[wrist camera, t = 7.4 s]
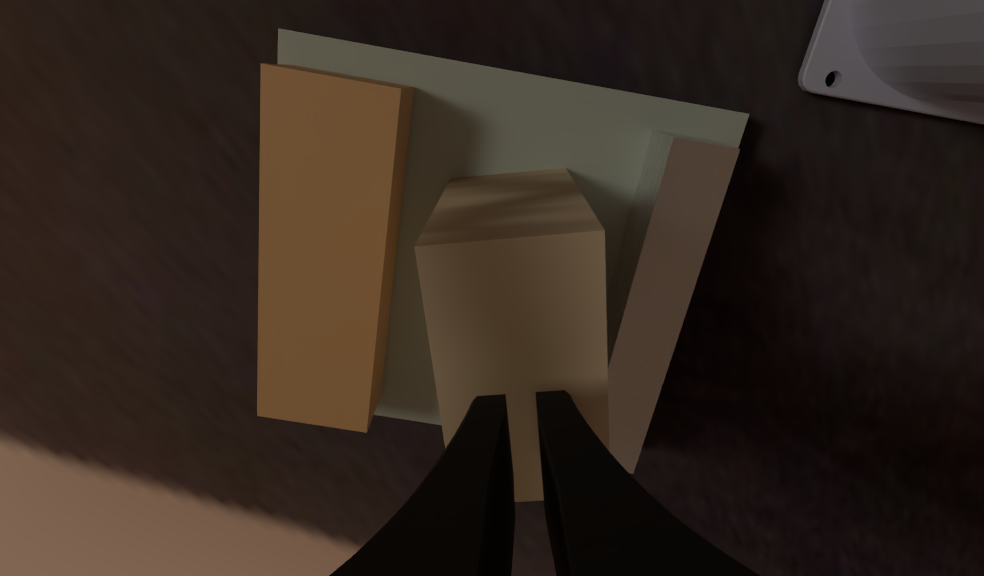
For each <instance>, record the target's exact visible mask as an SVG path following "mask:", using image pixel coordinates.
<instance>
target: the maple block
mask: <svg viewBox="0 0 984 576" xmlns="http://www.w3.org/2000/svg"><path fill="white" fill-rule="evenodd" d="M414 248H415V255H416V261H417V267H418V274H419V280H420V287H421V293H422V300H423V306H424V313H425V319H426V326H427V332H428V339H429V345H430V352H431V358H432V365H433V371H434V378H435V384H436V391H437V397H438V404H439V410H440V417H441V423H442V430H443V436H444V443H445V449H446V447H447V445H448V444H449V442H450V441H451V439H452V438H453V436H454V434H455V433H456V431H457V429H458V428H459V426H460V424H461V422H462V421H463V419H464V417H465V415H466V413H467V411H468V409H469V407H470V405H471V403H472V401H473V400H474V399H475V398H476V397H477V396H484V395H499V394H506V403H507V413H508V423H509V433H510V443H511V453H512V463H513V473H514V499H515V502H522V501H540V500H544V495H543V483H542V472H541V459H540V446H539V433H538V420H537V407H536V393H535V392H543V391H558V390H565V391H566V392H568V393H569V394H570V396H571V398H572V400H573V401H574V403H575V405H576V407H577V408H578V410H579V411H580V413H581V415H582V416H583V417H584V419H585V420H586V422H587V423H588V425H589V426H590V427H591V429H592V430H593V431H594V433H595V434H596V435H597V437H598V438H599V439H600V440H601V442H602V443H603V444H604V445H605V447H606V448H607V449H608V450H609V409H608V361H607V313H606V264H605V230H604V228H603V227H602V225H601V223H600V222H599V220H598V219H597V217H596V215H595V214H594V212H593V211H592V209H591V207H590V206H589V204H588V203H587V201H586V200H585V198H584V196H583V195H582V193H581V192H580V190H579V188H578V187H577V185H576V184H575V182H574V180H573V179H572V177H571V176H570V174H569V172H568V171H567V169H566V168H559V169H548V170H537V171H527V172H516V173H505V174H494V175H483V176H472V177H461V178H451V179H450V180H449V182H448V184H447V186H446V188H445V190H444V192H443V193H442V195H441V197H440V199H439V201H438V203H437V205H436V207H435V208H434V210H433V212H432V214H431V216H430V218H429V220H428V222H427V223H426V225H425V227H424V229H423V231H422V233H421V235H420V237H419V239H418V240H417V242H416V244H415V246H414Z"/></svg>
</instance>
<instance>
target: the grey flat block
mask: <svg viewBox="0 0 984 576" xmlns="http://www.w3.org/2000/svg"><path fill="white" fill-rule="evenodd" d="M278 64H287V65H296V66H302V67H307V68H313V69H319V70H324V71H330V72H335V73H341V74H347V75H352V76H358V77H363V78H369V79H374V80H380V81H386V82H391V83H397V84H402V85H408V86H413V87H414V95H413V104H412V113H411V122H410V132H409V141H408V150H407V159H406V168H405V178H404V187H403V196H402V205H401V215H400V224H399V233H398V242H397V251H396V261H395V270H394V279H393V288H392V298H391V307H390V316H389V325H388V334H387V344H386V353H385V362H384V371H383V380H382V390H381V397H380V400H379V402H378V405H377V407H376V410H375V413H374V415H380V416H386V417H393V418H399V419H406V420H412V421H418V422H425V423H431V424H438V425H442V423H441V417H440V410H439V404H438V397H437V391H436V384H435V378H434V371H433V365H432V358H431V352H430V345H429V339H428V332H427V326H426V319H425V313H424V306H423V300H422V293H421V287H420V280H419V274H418V267H417V261H416V255H415V248H414V246H415V244H416V242H417V240H418V239H419V237H420V235H421V233H422V231H423V229H424V227H425V225H426V223H427V222H428V220H429V218H430V216H431V214H432V212H433V210H434V208H435V207H436V205H437V203H438V201H439V199H440V197H441V195H442V193H443V192H444V190H445V188H446V186H447V184H448V182H449V180H450V179H451V178H461V177H472V176H483V175H494V174H505V173H516V172H527V171H537V170H548V169H559V168H566V169H567V171H568V172H569V174H570V176H571V177H572V179H573V180H574V182H575V184H576V185H577V187H578V188H579V190H580V192H581V193H582V195H583V196H584V198H585V200H586V201H587V203H588V204H589V206H590V207H591V209H592V211H593V212H594V214H595V215H596V217H597V219H598V220H599V222H600V223H601V225H602V227H603V228H604V230H605V264H606V313H607V361H608V409H609V452H610V453H611V454H612V455H613V456H614V457H615V458H616V460H617V461H618V462H619V463H620V464H621V465H622V466H623V467H624V468H625V469H626V471H627V472H628V473H632V474H633V473H634V470H635V467H636V464H637V461H638V458H639V455H640V452H641V449H642V446H643V442H644V439H645V436H646V433H647V430H648V427H649V424H650V421H651V418H652V415H653V412H654V409H655V406H656V403H657V400H658V397H659V394H660V391H661V388H662V385H663V382H664V379H665V376H666V373H667V370H668V367H669V364H670V361H671V358H672V355H673V352H674V348H675V345H676V342H677V339H678V336H679V333H680V330H681V327H682V324H683V321H684V318H685V315H686V312H687V309H688V306H689V303H690V300H691V297H692V294H693V291H694V288H695V285H696V282H697V279H698V276H699V273H700V270H701V267H702V264H703V261H704V257H705V254H706V251H707V248H708V245H709V242H710V239H711V236H712V233H713V230H714V227H715V224H716V221H717V218H718V215H719V212H720V209H721V206H722V203H723V200H724V197H725V194H726V191H727V188H728V185H729V182H730V179H731V176H732V173H733V170H734V167H735V163H736V160H737V157H738V154H739V151H740V149H738V147H739V144H740V141H741V138H742V135H743V132H744V129H745V126H746V123H747V120H748V117H749V114H746V113H741V112H735V111H730V110H724V109H719V108H713V107H708V106H702V105H697V104H691V103H686V102H680V101H675V100H669V99H664V98H658V97H653V96H647V95H642V94H636V93H631V92H625V91H620V90H614V89H609V88H603V87H598V86H592V85H587V84H581V83H576V82H570V81H565V80H559V79H554V78H548V77H543V76H537V75H532V74H526V73H521V72H515V71H510V70H504V69H499V68H493V67H488V66H482V65H477V64H471V63H466V62H460V61H455V60H449V59H444V58H438V57H433V56H427V55H422V54H416V53H411V52H405V51H400V50H394V49H389V48H383V47H378V46H372V45H367V44H361V43H356V42H350V41H345V40H339V39H334V38H328V37H323V36H317V35H312V34H306V33H301V32H295V31H290V30H284V29H279V28H278Z"/></svg>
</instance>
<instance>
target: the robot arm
mask: <svg viewBox="0 0 984 576" xmlns="http://www.w3.org/2000/svg"><path fill="white" fill-rule="evenodd" d="M830 72H833V73H834V75H835V81H834V82H833V84H832V85H831V86H829V87H828V86H827V85H826V83H825V79H826V77H827V75H828V74H829V73H830ZM798 83H799V86H800V87H801V89H802V90H804V91H806V92H809V93H814V94H820V95H825V96H831V97H836V98H842V99H847V100H852V101H858V102H863V103H869V104H874V105H880V106H885V107H890V108H896V109H901V110H907V111H912V112H918V113H923V114H928V115H934V116H939V117H945V118H950V119H956V120H961V121H967V122H972V123H977V124H983V125H984V0H825V1H824V4H823V7H822V9H821V12H820V15H819V18H818V21H817V24H816V27H815V29H814V32H813V35H812V38H811V41H810V44H809V46H808V49H807V52H806V55H805V58H804V61H803V64H802V66H801V69H800V72H799V76H798ZM535 393H536V407H537V420H538V433H539V446H540V459H541V472H542V483H543V495H544V507H545V517H546V522H547V528H548V533H549V538H550V544H551V549H552V554H553V559H554V565H555V570H556V575H557V576H760V575H758V574H757V573H755V572H753V571H752V570H750V569H749V568H747V567H745V566H744V565H742V564H741V563H739V562H738V561H736V560H734V559H733V558H731V557H730V556H728V555H727V554H725V553H724V552H722V551H721V550H719V549H718V548H716V547H715V546H714V545H712V544H711V543H710V542H708V541H707V540H706V539H704V538H703V537H701V536H700V535H699V534H697V533H696V532H695V531H693V530H692V529H690V528H689V527H688V526H686V525H685V524H684V523H683V522H681V521H680V520H679V519H678V518H677V517H675V516H674V515H673V514H672V513H671V512H669V511H668V510H667V509H666V508H665V507H664V506H662V505H661V504H660V503H659V502H658V501H657V500H656V499H655V498H654V497H652V496H651V495H650V494H649V493H648V492H647V491H646V490H645V489H644V488H643V487H642V486H641V485H640V484H639V483H638V482H637V481H636V480H635V479H634V478H633V477H632V476H631V475H630V474H629V473H628V472H627V471H626V469H625V468H624V467H623V466H622V465H621V464H620V463H619V462H618V461H617V460H616V458H615V457H614V456H613V455H612V454H611V453H610V452H609V450H608V449H607V448H606V447H605V445H604V444H603V443H602V442H601V440H600V439H599V438H598V437H597V435H596V434H595V433H594V431H593V430H592V429H591V427H590V426H589V425H588V423H587V422H586V420H585V419H584V417H583V416H582V415H581V413H580V411H579V410H578V408H577V407H576V405H575V403H574V401H573V400H572V398H571V396H570V394H569V393H568V392H566V391H565V390H558V391H543V392H535ZM514 527H515V499H514V473H513V463H512V453H511V443H510V433H509V423H508V413H507V403H506V394H499V395H484V396H477V397H476V398H475V399H474V400H473V401H472V403H471V405H470V407H469V409H468V411H467V413H466V415H465V417H464V419H463V421H462V422H461V424H460V426H459V428H458V429H457V431H456V433H455V434H454V436H453V438H452V439H451V441H450V442H449V444H448V445H447V447H446V449H445V450H444V452H443V453H442V455H441V456H440V458H439V459H438V461H437V462H436V464H435V465H434V466H433V468H432V469H431V470H430V472H429V473H428V474H427V476H426V477H425V478H424V480H423V481H422V483H421V484H420V485H419V487H418V488H417V489H416V490H415V492H414V493H413V494H412V495H411V496H410V498H409V499H408V500H407V501H406V502H405V504H404V505H403V506H402V507H401V508H400V509H399V510H398V511H397V513H396V514H395V515H394V516H393V517H392V518H391V519H390V520H389V521H388V522H387V523H386V524H385V525H384V526H383V527H382V528H381V529H380V530H379V531H378V532H377V533H376V534H375V535H374V536H373V537H372V538H371V539H370V540H369V541H368V542H367V543H366V544H365V545H364V546H363V547H362V548H361V549H360V550H359V551H358V552H357V553H355V554H354V555H353V556H352V557H351V558H350V559H349V560H348V561H346V562H345V563H344V564H343V565H342V566H340V567H339V568H338V569H337V570H336V571H334V572H333V573H332V574H331V575H329V576H511V570H512V556H513V542H514Z"/></svg>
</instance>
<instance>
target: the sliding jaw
mask: <svg viewBox="0 0 984 576" xmlns="http://www.w3.org/2000/svg"><path fill="white" fill-rule="evenodd" d="M413 95H414V87H413V86H408V85H402V84H397V83H391V82H386V81H380V80H374V79H369V78H363V77H358V76H352V75H347V74H341V73H335V72H330V71H324V70H319V69H313V68H307V67H302V66H296V65H287V64H262V63H261V95H260V192H259V290H258V387H257V416H262V417H269V418H275V419H282V420H288V421H295V422H301V423H308V424H314V425H321V426H327V427H334V428H340V429H347V430H353V431H360V432H366V433H367V431H368V428H369V425H370V423H371V420H372V418H373V415H374V413H375V410H376V407H377V405H378V402H379V400H380V397H381V390H382V380H383V371H384V362H385V353H386V344H387V334H388V325H389V316H390V307H391V298H392V288H393V279H394V270H395V261H396V251H397V242H398V233H399V224H400V215H401V205H402V196H403V187H404V178H405V168H406V159H407V150H408V141H409V132H410V122H411V113H412V104H413Z"/></svg>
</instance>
